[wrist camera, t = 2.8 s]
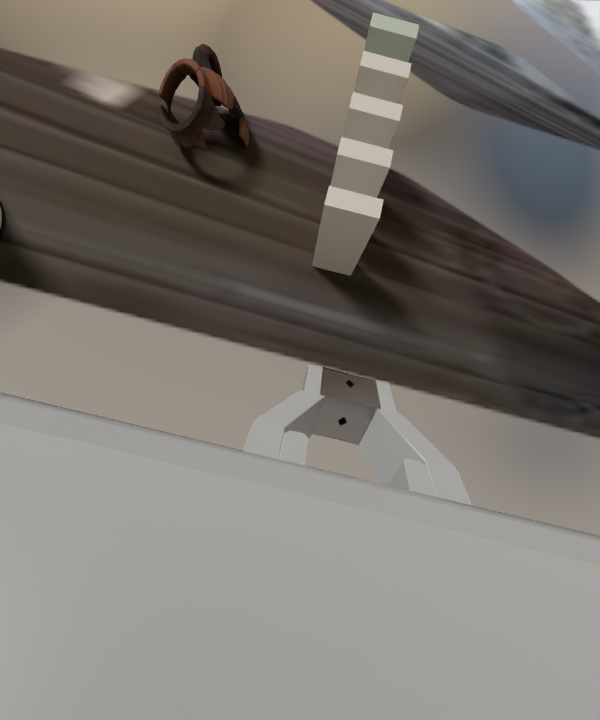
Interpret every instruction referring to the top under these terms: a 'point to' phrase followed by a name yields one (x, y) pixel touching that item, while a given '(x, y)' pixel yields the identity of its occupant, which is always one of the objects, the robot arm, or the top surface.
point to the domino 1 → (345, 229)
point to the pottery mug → (199, 99)
